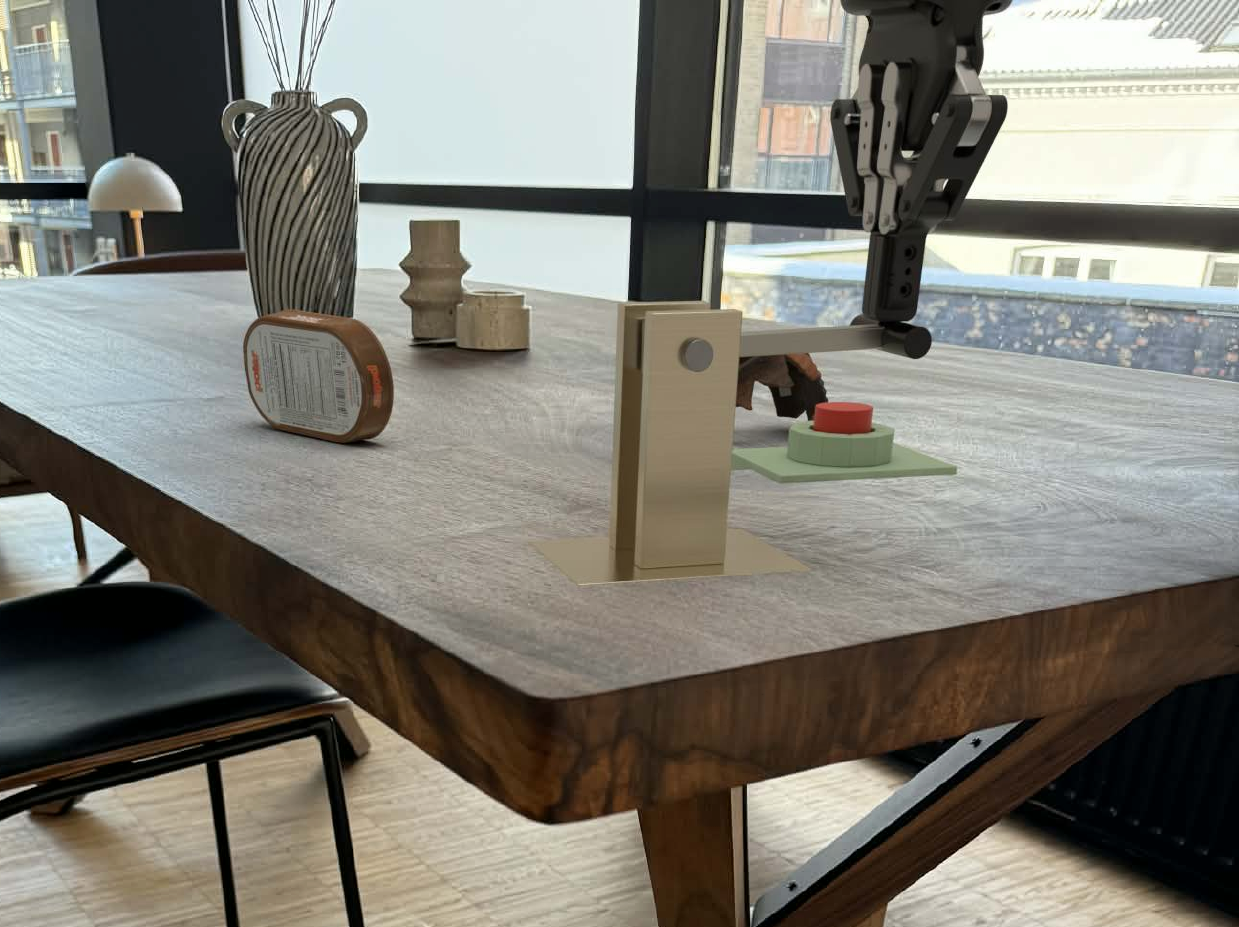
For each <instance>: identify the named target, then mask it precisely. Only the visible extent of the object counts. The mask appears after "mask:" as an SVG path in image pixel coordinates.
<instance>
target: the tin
mask: <svg viewBox="0 0 1239 927" xmlns="http://www.w3.org/2000/svg"><path fill="white" fill-rule="evenodd" d="M242 350H243V352H242V353H243V364H244V365H243V366H244V372H245V379H246V383H247V389H248V393H249V394H248V395H249V396H250V399H251V401H252V403H253V405H254V407H255V409H256V410H257V412H258V413H259V415H260V416H261V417H262V418H263V420H265V421H266V422H267V423H268V425H270V426H272V427H273V428H275V429H276V430H277V429H278V430H281V431H284V432H290V433H294V434H299V435H303V436H308V437H312V438H316V439H321V440H325V441H329V442H334V443H339V444H340V443H341V444H349V443H354V442H359V441H366V440H373V439H375V438H377V437H378V436H379V435H381V434H382V433H383V431H384V430H385V429H386V427H387V426H388V425H389V424H388V423H389V421H390V419H391V415H392V413H393V408H394V399H395V387H394V386H395V385H394V379H393V378H394V377H393V372H392V367H391V364H390V361H389V358H388V356H387V353H386V351H385V348H384V347H383V344H382V343H381V341H380V340H379V338H378V337H377V335H376V333H374V331H373V330H372V329H371V328H370V327H369V326H368V325H366V324H365V323H364V322H362V321H361V320H358V319H356V318H353V317H345V316H339V315H331V314H324V313H318V312H311V311H305V310H300V309H299V310H298V309H291V308H288V309H284V310H281V311H280V312H275V313H270V314H265V315H262V316H260V317H257V318H256V319H255V320H254V321H252V322H251V323H250V325H249V326H248V329H247V330H246V333H245V335H244V338H243V343H242Z"/></svg>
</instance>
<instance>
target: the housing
mask: <svg viewBox="0 0 1239 927" xmlns="http://www.w3.org/2000/svg"><path fill="white" fill-rule="evenodd" d="M813 426H814V421H808V420H805V421H799V422H795V423H792V424H791V425H790V427H789V429H788V439H787V446H772V447H770V446H769V447H748V448H747V447H746V448H733V449H732V463H731V471H748V470H749V471H750V470H752V471H754V472H756V473H758V474H760V475H763V476H764V477H766V478H769V479H770V480H773V482H776V483H779V484H792V483H811V482H813V483H815V482H830V481H831V482H832V481H852V480H869V479H887V478H888V479H889V478H909V477H911V478H912V477H927V476H947V475H949V476H950V475H957V472H958V466H956V465H954V464H952V463H949V462H946V461H943V460H941V459H937V458H935V457H932V456H930V455H927V454H924V453H922V452H919V451H917V450H913V449H911V448H908V447H905V446H903V445H900V444H897V443H895V442H894V440H895V439H894V438H895V428H893V427H890V426H887V425H885V424H882V423H876V422H872V424H871V432H870V433H866V434H832V433H824V432H817V431H814V430H813Z"/></svg>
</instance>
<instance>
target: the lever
mask: <svg viewBox="0 0 1239 927" xmlns="http://www.w3.org/2000/svg"><path fill="white" fill-rule="evenodd" d="M644 337H645V320H643V322H642V361H641V373H642V374H643V360H644ZM932 342H933V338H932V333H931V332H930V330H929V329H927V327H925V326H921V325H917V324H912V323H908V322H880V321H876V320H872V319H868V318H866V317H865V316H864V315H863V313H860V314H857V315H856V316H855V317H853V319H852V320H851V321H850V323H849V325H839V326H837V325H836V326H821V327H819V326H818V327H803V328H801V327H799V328H785V329H782V328H781V329H768V330H767V329H765V330H749V331H741V340H740V354H739V357H749V356H766V355H783V354H800V353H809V354H813V353H815V354H816V353H831V352H845V351H846V352H848V351H863V350H878V351H881V352H885V353H889V354H891V355H895V356H896V355H897V356H900V357H904V358H908V359H912V360H920V359H922V358H923V357H925V356H926V355H927V354H928V353H929V352H930V349H931V347H932Z"/></svg>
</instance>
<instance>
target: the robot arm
mask: <svg viewBox="0 0 1239 927" xmlns="http://www.w3.org/2000/svg"><path fill="white" fill-rule="evenodd" d="M839 1H840V5H841V8H842V10H844V12H846V14H849V15H853V16H857V17H865V19H866V20H867V24H868V26H867V30H866V34H865V40H864V43H863V48H862V50H861V53H860V57H859V61H858V82H857V88H856V90H855V92H854V94H853V95H852V97H851V98H848V99H845V98H836V99H835V100H834V101H833V102H832V104H831V108H830V113H829V118H830V120H829V121H830V125H831V126H830V127H831V131H832V135H833V136H832V137H833V140H834V146H835V151H836V155H837V161H838V166H839V171H840V176H841V177H840V178H841V181H842V182H841V183H842V186H843V191H844V195H845V201H846V205H847V211H848V214H849V215H850V216H851V217H862V228H863V230H864V232H865V233H870V234H869V241H868V248H867V249H868V250H867V260H866V268H865V278H864V286H863V294H862V295H863V296H862V304H861V314H863V315H864V316H865V317H866V318H868V319H872V320H876V321H880V322H904V323H907V322H910V321H912V320H913V319H914V318H915V317H916V315H917V312H918V305H919V298H920V290H921V282H922V274H923V267H924V266H923V265H924V259H925V251H926V250H925V249H926V242H927V237H928V235H932V234H933V233H934V232H935V231H936V229H937V226H938V224H940V223H941V222H943V221H944V222H948V221H949V222H950V221H953V220H955V219H956V218H957V216H958V214H959V212H960V210H961V208H962V206H963V204H964V202H965V200H966V198H967V196H968V194H969V192H970V190H971V188H972V186H973V184H974V182H975V180H976V178H977V176H978V174H979V172H980V170H981V168H982V166H983V164H984V162H985V160H986V159H987V156H988V154H989V152H990V151H991V148H992V146H993V145H994V142H995V140H996V139H997V137H998V134H999V132H1000V130H1001V128H1002V127H1003V124H1004V122H1005V120H1006V118H1007V114H1008V109H1009V105H1008V104H1009V103H1008V99H1007V97H1006V95H1004V94H987V93H986V91H985V89H984V87H983V84H982V83H981V80H980V78H979V76H980V74H981V71H982V69H983V65H984V59H985V46H984V36H983V26H984V24H983V23H984V22H983V21H984V20H983V19H984V18H983V17H984V16H990V15H991V16H992V15H997V14H1000V13H1003V12H1005V11H1006V10H1007V9H1008V8H1009V7H1010V6H1011V5H1012V3H1013V1H1014V0H839ZM903 152H912V154H911V155H910V156H909V157H905V156H904V155H903Z"/></svg>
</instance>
